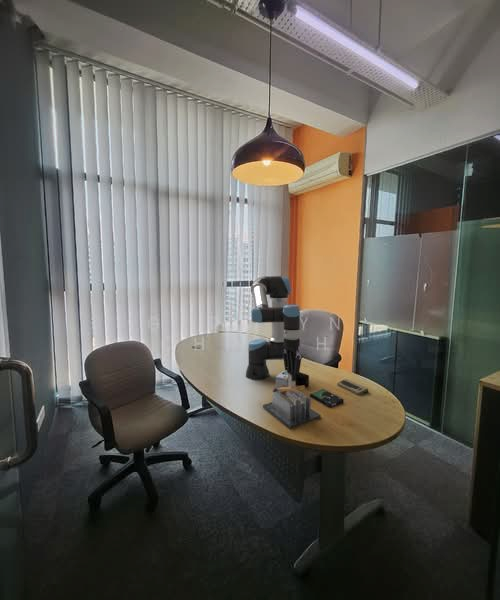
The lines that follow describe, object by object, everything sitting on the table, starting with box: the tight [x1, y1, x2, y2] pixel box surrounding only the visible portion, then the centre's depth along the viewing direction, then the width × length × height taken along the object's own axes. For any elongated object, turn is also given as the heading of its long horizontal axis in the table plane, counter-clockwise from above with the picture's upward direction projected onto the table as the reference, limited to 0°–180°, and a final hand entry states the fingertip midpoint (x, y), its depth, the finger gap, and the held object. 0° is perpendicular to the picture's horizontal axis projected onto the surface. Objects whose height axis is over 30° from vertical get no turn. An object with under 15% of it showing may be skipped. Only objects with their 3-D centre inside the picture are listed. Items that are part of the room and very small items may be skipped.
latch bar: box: [277, 385, 306, 392], centre depth 134 cm, size 19×4×2 cm, turn 29°
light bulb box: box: [275, 370, 288, 393], centre depth 156 cm, size 11×7×11 cm, turn 152°
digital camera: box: [295, 371, 310, 389], centre depth 166 cm, size 10×5×7 cm, turn 42°
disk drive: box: [309, 388, 345, 409], centre depth 147 cm, size 10×3×15 cm
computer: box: [336, 378, 369, 396], centre depth 160 cm, size 16×8×3 cm, turn 29°
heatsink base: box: [262, 385, 322, 430], centre depth 134 cm, size 22×18×10 cm
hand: (291, 386), depth 132 cm, fingers closed
